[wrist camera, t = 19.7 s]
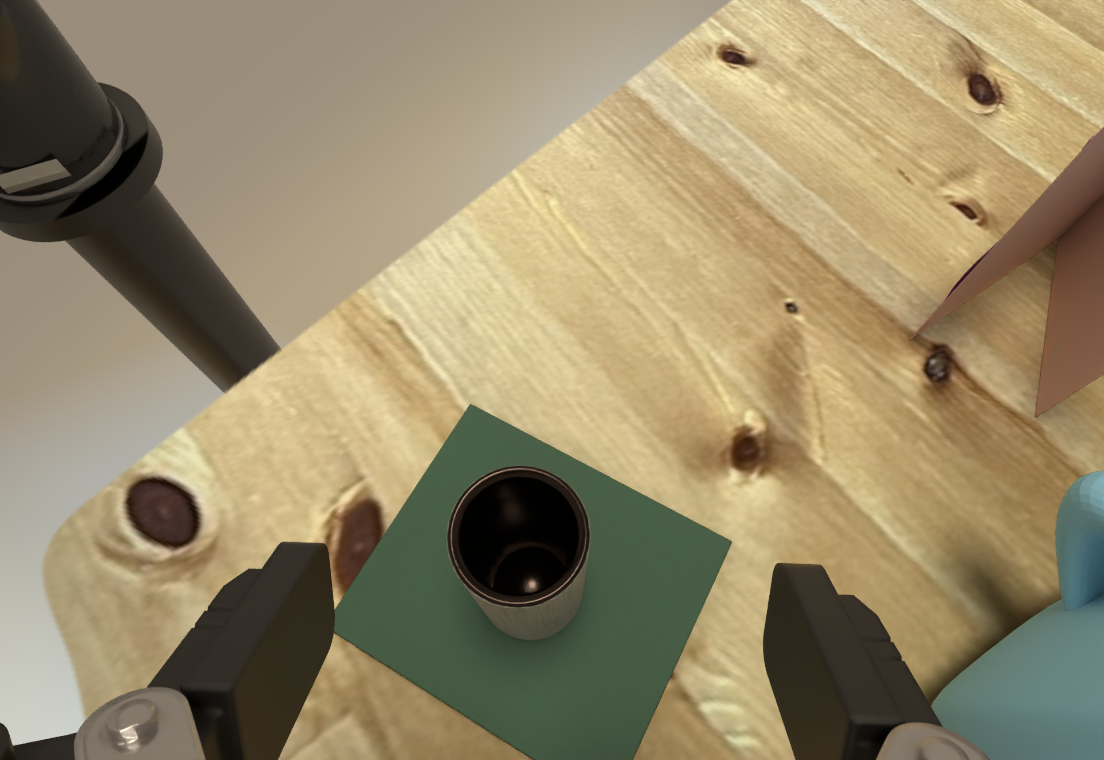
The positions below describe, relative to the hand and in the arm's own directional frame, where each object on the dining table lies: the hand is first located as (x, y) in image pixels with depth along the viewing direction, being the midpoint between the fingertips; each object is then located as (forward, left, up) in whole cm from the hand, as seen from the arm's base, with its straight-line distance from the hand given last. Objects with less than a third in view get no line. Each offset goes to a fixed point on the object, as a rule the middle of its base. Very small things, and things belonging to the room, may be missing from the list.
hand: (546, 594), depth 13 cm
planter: (-2, +2, -20) cm, 20 cm away
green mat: (-3, +2, -20) cm, 20 cm away
